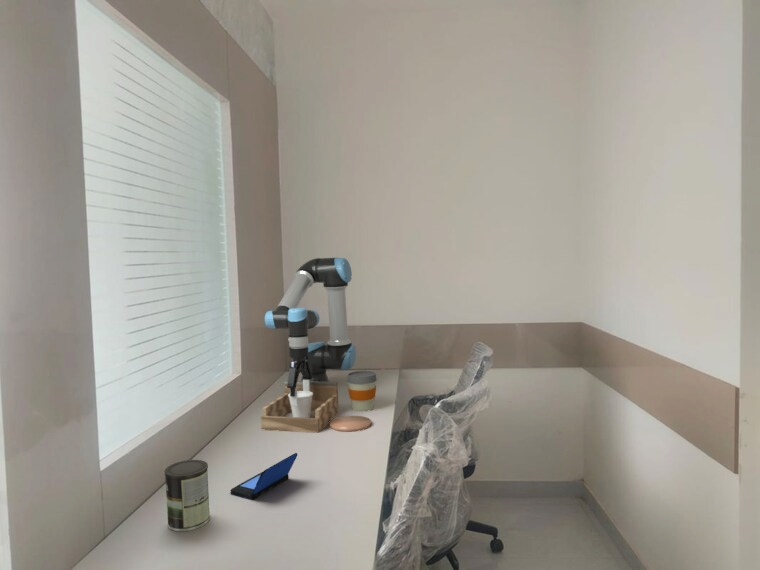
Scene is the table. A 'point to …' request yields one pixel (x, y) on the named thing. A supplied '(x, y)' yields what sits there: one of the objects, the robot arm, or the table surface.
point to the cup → (302, 404)
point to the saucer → (350, 423)
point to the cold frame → (321, 406)
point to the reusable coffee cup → (362, 390)
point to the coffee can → (187, 495)
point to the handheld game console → (265, 479)
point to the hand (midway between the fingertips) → (300, 399)
